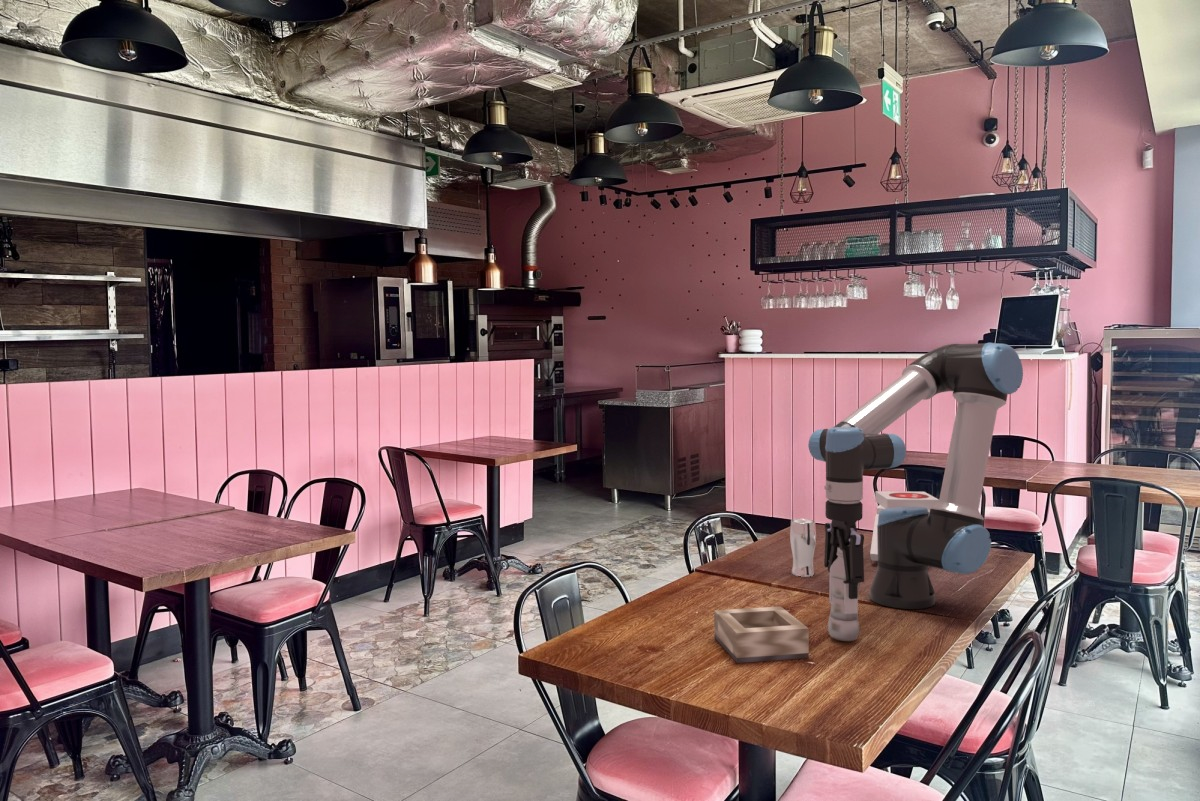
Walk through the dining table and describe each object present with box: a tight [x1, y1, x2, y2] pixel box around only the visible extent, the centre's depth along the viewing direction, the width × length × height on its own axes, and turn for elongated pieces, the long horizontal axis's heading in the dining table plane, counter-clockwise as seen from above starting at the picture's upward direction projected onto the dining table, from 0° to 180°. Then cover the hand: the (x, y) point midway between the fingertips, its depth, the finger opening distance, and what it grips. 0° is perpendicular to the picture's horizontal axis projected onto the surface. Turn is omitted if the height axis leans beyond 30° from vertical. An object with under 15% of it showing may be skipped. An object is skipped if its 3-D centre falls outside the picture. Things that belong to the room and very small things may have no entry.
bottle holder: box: [713, 605, 810, 664], centre depth 172 cm, size 15×15×6 cm
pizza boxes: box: [869, 490, 939, 562], centre depth 246 cm, size 19×30×18 cm, turn 154°
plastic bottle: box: [827, 545, 860, 642], centre depth 175 cm, size 6×7×20 cm
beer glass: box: [789, 518, 817, 578], centre depth 229 cm, size 7×7×15 cm
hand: (843, 607), depth 175 cm, fingers closed on plastic bottle, 6 cm apart
